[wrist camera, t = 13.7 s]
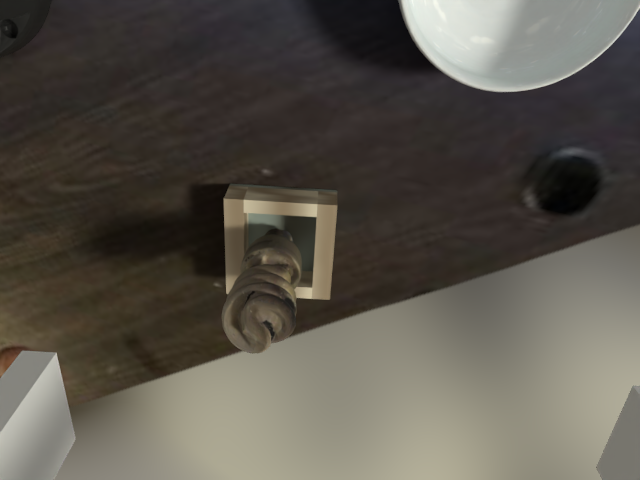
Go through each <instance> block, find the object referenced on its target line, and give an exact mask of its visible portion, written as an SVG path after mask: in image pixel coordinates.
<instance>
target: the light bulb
mask: <svg viewBox="0 0 640 480" xmlns="http://www.w3.org/2000/svg"><path fill="white" fill-rule="evenodd" d="M301 268H302V260H301V254H300V251H299V249H298V248H297V246H296V245H295V244H294V243H293V238H292V236H291V234H290V233H289V232H288V231H285V230H279V229H277V228H275V229H271V230H269V231H268V232H266V234H265V235H264V236H262V237H260V238H257V239H256V240H255V241H254V242H252V243H251V244H250V246H249V247H248V249H247V251H246V253H245V255H244V258H243V261H242V264H241V267H240V276H239V277H238V278H237V279H236V280H235V282H234V285H233V287H232V289H231V290H230V292H229V294H228V296H227V299H226V302H225V304H224V307H223V311H222V324H223V328H224V331H225V333H226V335H227V337H228V338H229V340H230V341H231V342H232V343H233V344H234V345H235V346H236V347H238V348H239V349H241V350H243V351H245V352H249V353H261V352H263V351H265V350H266V349H267V348H268V347H269V346H270V344H271V343H276V342H279V341H282V340H284V339H286V338H287V337H288V336H289V335H290V334H291V333H292V332H293V330H294V329H295V325H296V317H295V315H296V304H295V303H296V292H295V290H294V289H295V288H296V287H297V285H298V283H299V281H300V278H301V272H302V270H301Z"/></svg>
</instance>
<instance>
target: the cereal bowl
mask: <svg viewBox="0 0 640 480" xmlns="http://www.w3.org/2000/svg"><path fill="white" fill-rule="evenodd" d="M398 2H399V5H400V10H401V13H402V17H403V20H404V22H405V25H406V27H407V29H408V32H409V34H410V36H411V37H412V40H413V41H414V42H415V44H416V46H417V47H418V48H419V50H420V51H421V52H422V53H423V55H424V56H425V57H426V58H427V59H428V60H429V61H430V62H431V63H432V64H433V65H434V66H435V67H436V68H438V69H439V70H440V71H442V72H443V73H444V74H446V75H447V76H449V77H451V78H452V79H454V80H456V81H458V82H460V83H462V84H465V85H468V86H470V87H473V88H477V89H481V90H487V91H495V92H516V91H524V90H530V89H535V88H539V87H543V86H546V85H549V84H552V83H555V82H557V81H560V80H562V79H564V78H566V77H568V76H570V75H572V74H574V73H575V72H577V71H579V70H581V69H582V68H584V67H585V66H586V65H588V64H589V63H591V62H592V61H594V60H595V59H596V58H597V57H598V56H600V55H601V54H602V53H603V52H604V51H605V50H606V49H608V48H609V47H610V46H611V45H612V43H613V42H614V41H615V40H616V39H617V38H618V37H619V36H620V35H621V34H622V32H623V31H624V30H625V29H626V27H627V26H628V25H629V23H630V22H631V21H632V19H633V18H634V16H635V15H636V13H637V11H638V10H639V8H640V0H398Z"/></svg>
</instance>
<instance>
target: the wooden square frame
mask: <svg viewBox="0 0 640 480" xmlns="http://www.w3.org/2000/svg"><path fill="white" fill-rule="evenodd" d="M336 215H337V190H324V189H308V188H292V187H275V186H259V185H242V184H230V186H229V188H228V190H227V192H226V194H225V197H224V229H225V262H226V294H229V292H230V290H231V289H232V287H233V285H234V282H235V280H236V279H237V278H238V277H239V276H240V267H241V264H242V261H243V258H244V255H245V253H246V251H247V249H248V247H249V246H250V244H251V243H252V242H254V241H255V240H256V239H257V238H260V237H262V236H264V235H265V234H266V232H268V231H269V230H271V229H275V228H277V229H279V230H285V231H288V232H289V233H290V234H291V236H292V238H293V243H294V244H295V245H296V246H297V248H298V249H299V251H300V254H301V260H302V268H301V270H302V272H301V278H300V281H299V283H298V285H297V287H296V288H295V289H294V290H295V292H296V298H309V299H326V300H330V289H331V277H332V265H333V252H334V240H335V228H336Z"/></svg>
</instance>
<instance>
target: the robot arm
mask: <svg viewBox="0 0 640 480" xmlns="http://www.w3.org/2000/svg"><path fill="white" fill-rule="evenodd" d="M50 4H51V0H0V57H3V56H6V55H9V54H11V53H13V52H15V51H17V50H19V49H21V48H22V47H24V46H25V45H26V44H27V43H29V42H30V41H31V40H32V39H33V38H34V37H35V35H36V34H37V33H38V32H39V30H40V29H41V27H42V25H43V23H44V21H45V19H46V17H47V14H48V11H49V8H50ZM75 439H76V438H75V433H74V429H73V425H72V420H71V416H70V411H69V407H68V402H67V398H66V393H65V389H64V385H63V380H62V376H61V371H60V367H59V362H58V358H57V353H53V352H35V351H22V352H21V353H20V354H19V355H18V357H17V358H16V359H15V360H14V362H13V363H12V364H11V366H10V367H9V368H8V369H7V371H6V372H5V373H4V374H3V376H2V377H1V378H0V480H54V479H55V477H56V475H57V473H58V471H59V469H60V467H61V466H62V464H63V462H64V460H65V458H66V456H67V454H68V452H69V451H70V449H71V447H72V445H73V443H74V441H75ZM596 468H597V470H598V472H599V474H600V476H601V478H602V480H640V386H633V387H632V389H631V391H630V393H629V395H628V398H627V400H626V402H625V404H624V407H623V409H622V411H621V413H620V415H619V418H618V420H617V422H616V424H615V427H614V429H613V431H612V434H611V436H610V438H609V440H608V442H607V444H606V447H605V449H604V451H603V454H602V456H601V458H600V460H599V462H598V465H597V467H596Z"/></svg>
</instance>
